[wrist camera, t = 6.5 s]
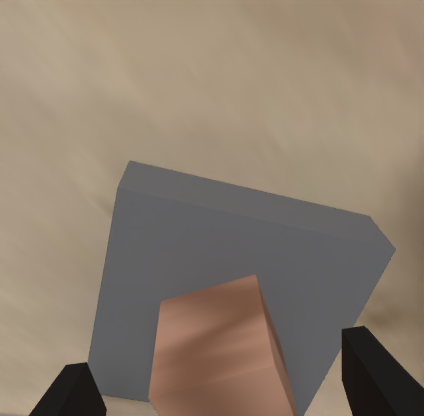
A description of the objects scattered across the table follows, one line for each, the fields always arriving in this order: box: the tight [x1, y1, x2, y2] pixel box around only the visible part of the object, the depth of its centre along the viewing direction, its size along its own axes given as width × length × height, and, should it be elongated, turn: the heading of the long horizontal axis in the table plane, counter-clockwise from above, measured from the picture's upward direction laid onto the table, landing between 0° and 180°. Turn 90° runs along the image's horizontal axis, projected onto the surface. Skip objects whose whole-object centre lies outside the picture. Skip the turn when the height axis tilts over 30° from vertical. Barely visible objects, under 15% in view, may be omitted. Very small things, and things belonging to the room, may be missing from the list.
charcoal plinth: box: [88, 161, 396, 416], centre depth 20 cm, size 12×12×3 cm
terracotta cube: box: [148, 274, 298, 416], centre depth 17 cm, size 4×4×5 cm
